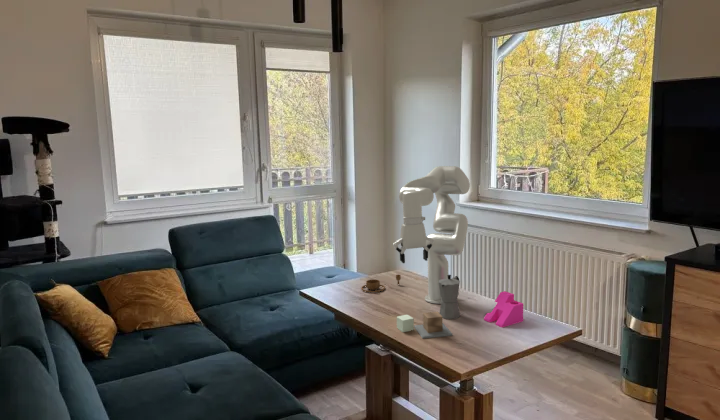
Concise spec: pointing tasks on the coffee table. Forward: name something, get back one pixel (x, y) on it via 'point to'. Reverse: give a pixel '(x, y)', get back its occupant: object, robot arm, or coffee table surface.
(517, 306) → the pink angular chunky piece
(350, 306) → the coffee table surface
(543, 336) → the coffee table surface
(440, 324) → the walnut cube
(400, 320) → the pale green block
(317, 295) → the coffee table surface
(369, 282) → the place setting
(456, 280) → the coffeepot
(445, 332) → the slate coaster
